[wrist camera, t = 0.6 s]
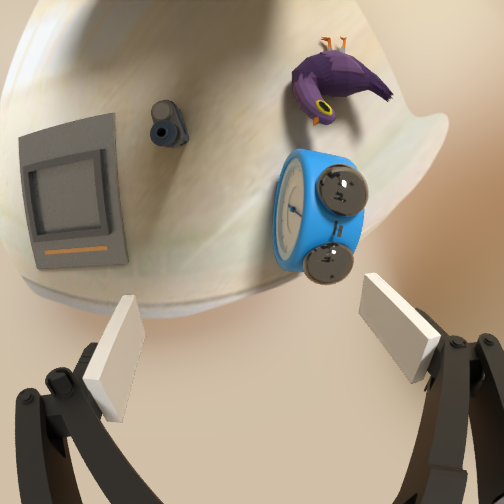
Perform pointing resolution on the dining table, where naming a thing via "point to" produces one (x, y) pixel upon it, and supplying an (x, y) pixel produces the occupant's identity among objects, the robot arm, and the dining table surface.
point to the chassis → (73, 194)
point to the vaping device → (168, 125)
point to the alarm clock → (318, 215)
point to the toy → (332, 82)
